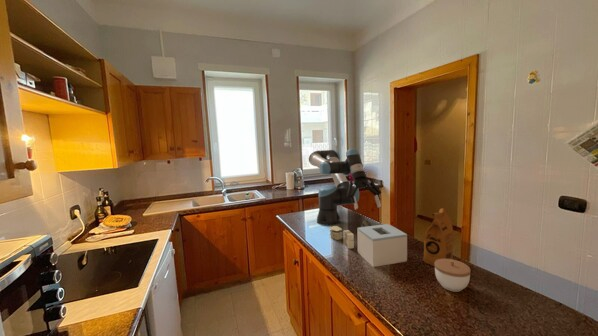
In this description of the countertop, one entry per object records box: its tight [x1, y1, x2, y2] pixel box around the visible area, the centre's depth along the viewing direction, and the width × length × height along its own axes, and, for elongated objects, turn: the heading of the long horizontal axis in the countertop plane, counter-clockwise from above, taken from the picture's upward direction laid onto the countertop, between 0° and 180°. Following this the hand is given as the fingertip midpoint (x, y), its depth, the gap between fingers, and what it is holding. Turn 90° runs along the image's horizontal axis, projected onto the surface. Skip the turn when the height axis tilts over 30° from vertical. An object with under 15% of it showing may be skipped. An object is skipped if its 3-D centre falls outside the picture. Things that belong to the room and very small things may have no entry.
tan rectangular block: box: [342, 229, 355, 249], centre depth 122 cm, size 6×3×7 cm, turn 13°
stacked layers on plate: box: [329, 225, 343, 241], centre depth 133 cm, size 10×9×6 cm
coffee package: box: [423, 208, 454, 267], centre depth 102 cm, size 10×12×22 cm
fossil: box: [359, 219, 373, 227], centre depth 134 cm, size 11×9×10 cm
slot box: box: [356, 223, 408, 268], centre depth 109 cm, size 14×16×12 cm
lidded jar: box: [434, 258, 472, 293], centre depth 85 cm, size 11×11×9 cm
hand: (368, 207), depth 133 cm, fingers open, 13 cm apart
